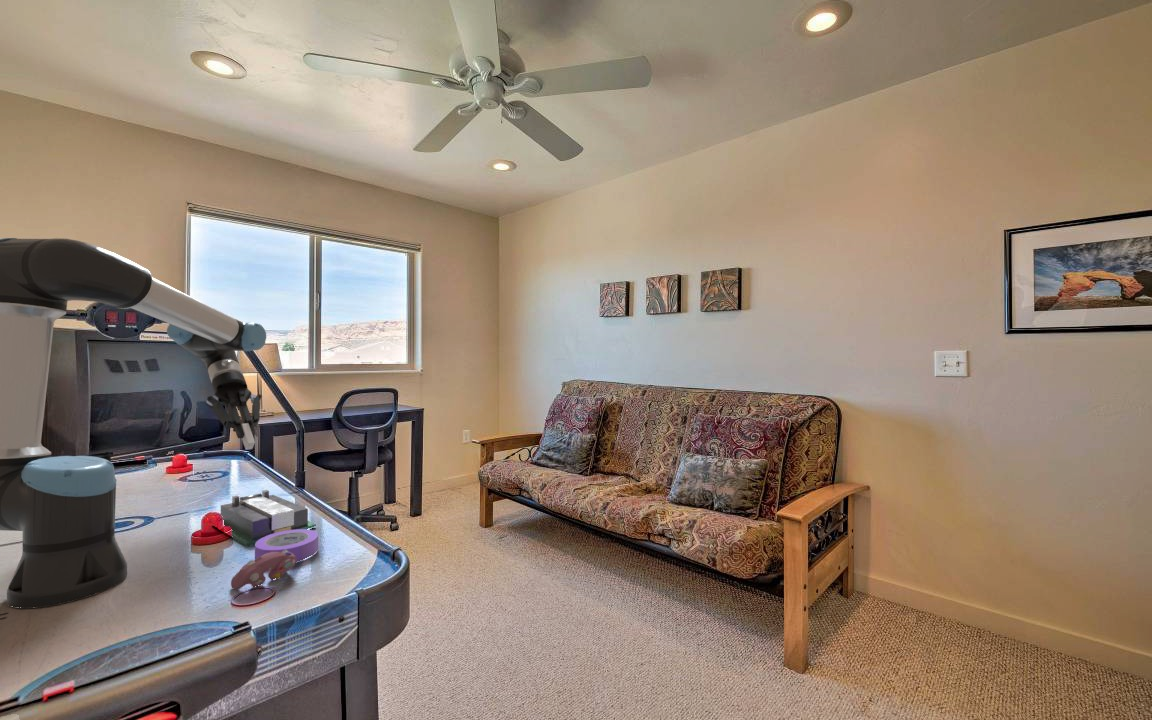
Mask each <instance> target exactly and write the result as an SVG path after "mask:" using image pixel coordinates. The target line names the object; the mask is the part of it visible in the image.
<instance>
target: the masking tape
mask: <svg viewBox="0 0 1152 720" xmlns="http://www.w3.org/2000/svg"><path fill="white" fill-rule="evenodd" d="M285 549H286V550H287V551H288V552H291V553H293V554H294V555H295V557H296V558H297V561H300V560H303V559H305V558H307V557H309V556H311V555H313V554H314V553H315V552H316V551H317V550H318V551H319V533H318V532H317V531H316V530H314V529H311V530H307V529H296V530H287V531H282V532H277V533H273V534H270V535H268V536H265V537H263V538H261V539H259V540H258V541H257V542H256V543H255V545H254V560H255V559H257V558H259V557H261V556H262V555H264V554H266V553H270V552H282V551H283V550H285ZM297 561H296V562H297Z"/></svg>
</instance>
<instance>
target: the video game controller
mask: <svg viewBox="0 0 1152 720" xmlns="http://www.w3.org/2000/svg"><path fill="white" fill-rule="evenodd" d="M296 561H297V558H296V557H295V555H294V554H293V553H291V552H288V551H287V550H286V549H285V550H283V551H282V552H270V553H266V554H264V555H262V556H261V557H259V558H257V559H255V558H254V559H253V560H252V559H251V560H249V561H248V562H246V563H245V564H244V565H243V566H242V567H241V568H240V569H239V570H238V572H237V573H236V574H235V575H233V577H232V578H231V581H230V587H231V588H232V589H233V590H237V591H238V590H240V589H242V588H243V587H245V586H246V585H251V586H252V588H254V587H255V586H258V585H261V584H262V585H264V584H265V582H266V578H267V577H268V578H269V579H270V581H271V580H273V579H275V578H276V579H277V578H279V577H280V578H282V577H283V576H284V574H285V573H286V572H288V571H289V570H290V569H291V568H292V567H294V566H295V563H296ZM296 564H297V563H296ZM267 572H268V575H267V577H266V576H265V573H267ZM280 578H279V579H280ZM262 585H261V586H262Z"/></svg>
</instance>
